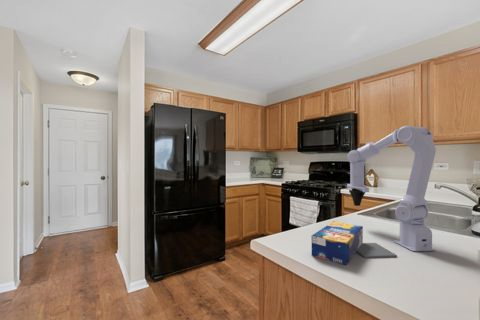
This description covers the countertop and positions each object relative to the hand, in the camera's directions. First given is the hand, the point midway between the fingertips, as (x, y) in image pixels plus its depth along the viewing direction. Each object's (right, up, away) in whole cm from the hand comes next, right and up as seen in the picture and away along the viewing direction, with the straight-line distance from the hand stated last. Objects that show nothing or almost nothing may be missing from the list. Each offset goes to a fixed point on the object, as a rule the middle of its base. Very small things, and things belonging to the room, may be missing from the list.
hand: (357, 205), depth 106 cm
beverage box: (-12, -7, -16) cm, 21 cm away
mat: (-9, -11, -26) cm, 29 cm away
